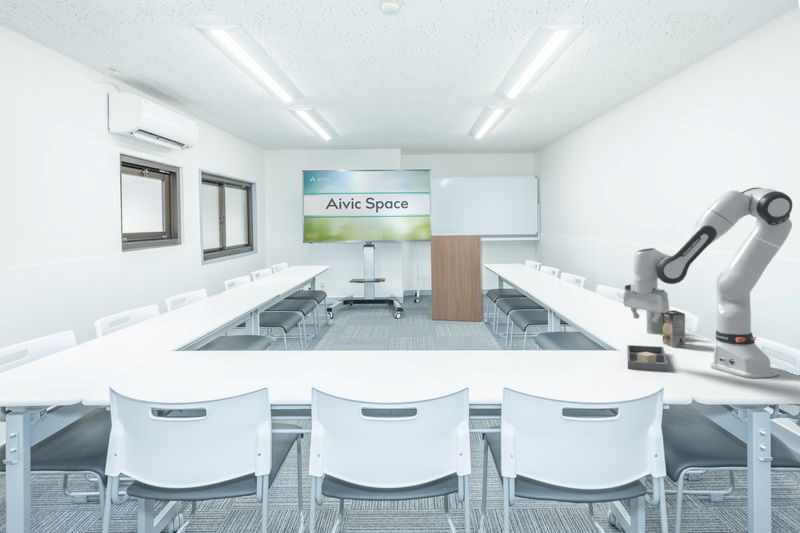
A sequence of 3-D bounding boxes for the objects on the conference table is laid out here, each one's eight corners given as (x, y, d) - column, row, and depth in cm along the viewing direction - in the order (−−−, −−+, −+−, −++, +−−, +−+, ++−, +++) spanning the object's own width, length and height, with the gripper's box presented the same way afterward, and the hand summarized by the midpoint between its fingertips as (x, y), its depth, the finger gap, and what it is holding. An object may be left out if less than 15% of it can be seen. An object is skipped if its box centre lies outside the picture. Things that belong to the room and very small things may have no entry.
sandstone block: (656, 366, 195) (656, 354, 195) (647, 367, 194) (647, 355, 193) (646, 363, 200) (646, 351, 200) (637, 364, 198) (637, 353, 198)
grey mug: (642, 332, 254) (641, 305, 253) (659, 328, 260) (659, 302, 259) (657, 335, 246) (656, 306, 245) (674, 331, 252) (674, 303, 251)
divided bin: (668, 371, 187) (668, 364, 187) (627, 368, 193) (627, 361, 193) (663, 353, 212) (663, 346, 212) (627, 351, 219) (627, 345, 219)
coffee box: (661, 342, 230) (661, 310, 229) (675, 342, 230) (674, 310, 229) (672, 347, 221) (671, 314, 220) (686, 346, 221) (685, 313, 220)
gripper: (673, 289, 186) (672, 323, 187) (632, 284, 205) (632, 315, 206) (661, 290, 183) (660, 325, 185) (620, 285, 203) (620, 317, 204)
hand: (645, 320), depth 195 cm, fingers open, 8 cm apart
